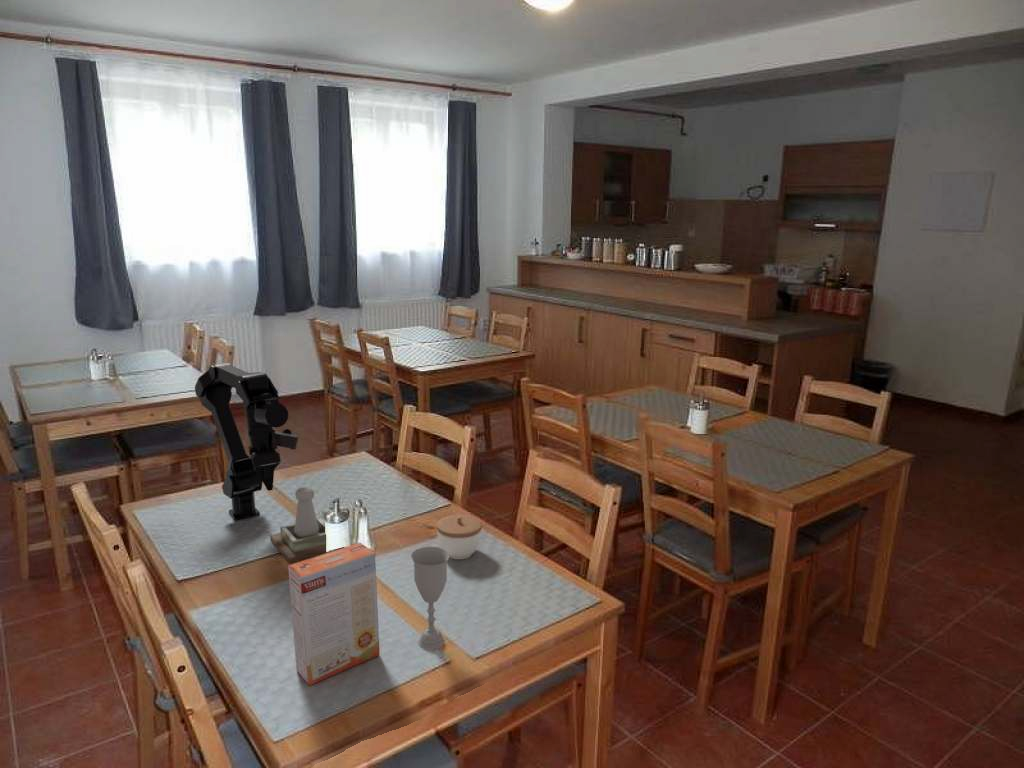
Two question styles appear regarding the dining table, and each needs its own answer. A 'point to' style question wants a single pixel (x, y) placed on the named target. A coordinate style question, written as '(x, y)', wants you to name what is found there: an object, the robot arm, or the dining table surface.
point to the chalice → (430, 588)
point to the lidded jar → (459, 535)
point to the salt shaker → (305, 514)
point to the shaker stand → (299, 543)
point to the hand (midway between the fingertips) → (268, 486)
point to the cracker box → (334, 611)
